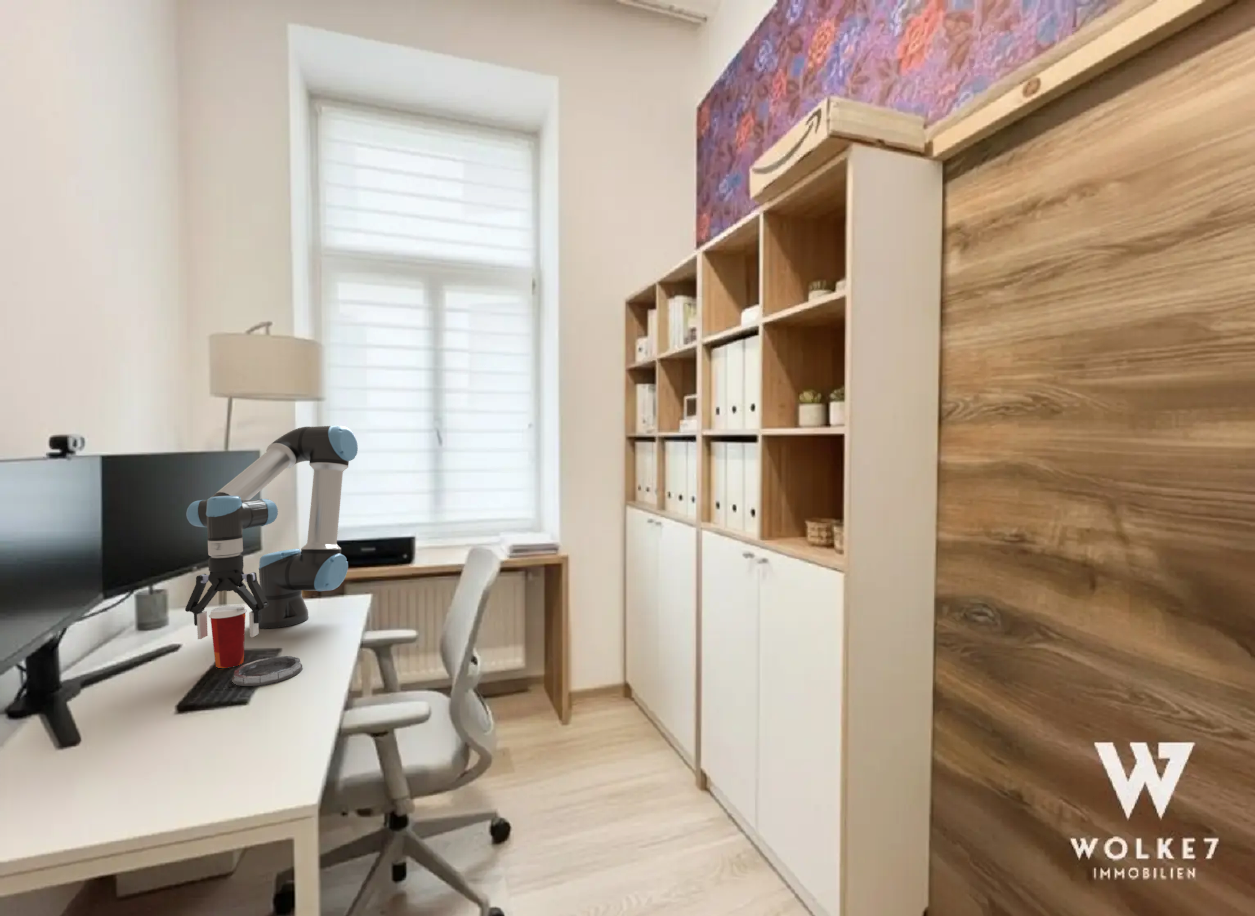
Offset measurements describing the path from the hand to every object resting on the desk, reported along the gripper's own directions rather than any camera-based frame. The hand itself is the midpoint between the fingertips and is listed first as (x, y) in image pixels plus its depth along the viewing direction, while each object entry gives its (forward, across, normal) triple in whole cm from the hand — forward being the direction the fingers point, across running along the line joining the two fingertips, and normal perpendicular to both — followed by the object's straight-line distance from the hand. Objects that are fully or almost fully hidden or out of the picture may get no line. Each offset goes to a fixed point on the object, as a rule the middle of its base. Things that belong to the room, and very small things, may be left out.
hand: (228, 636), depth 151 cm
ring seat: (+7, +14, -8) cm, 18 cm away
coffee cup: (+8, 0, 0) cm, 8 cm away
